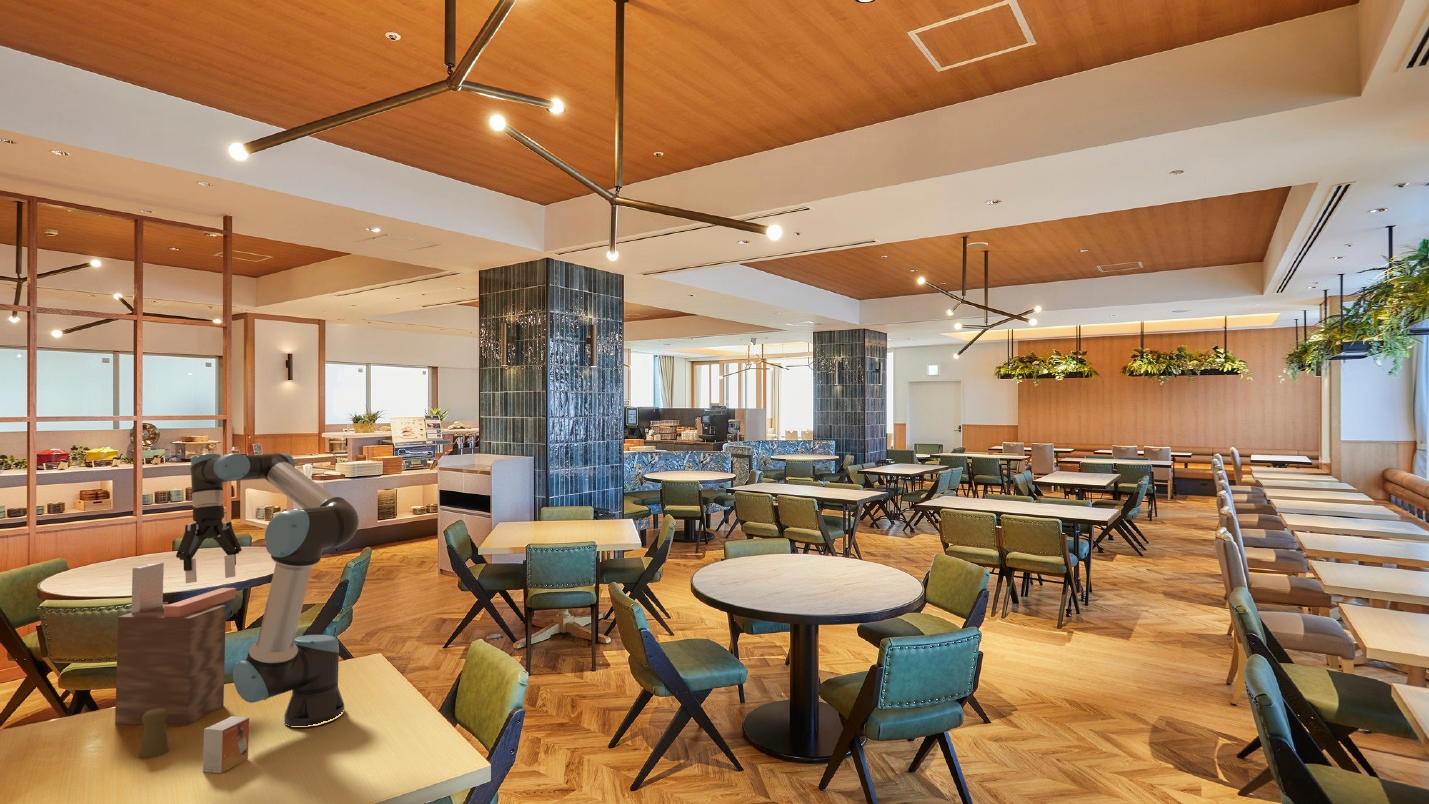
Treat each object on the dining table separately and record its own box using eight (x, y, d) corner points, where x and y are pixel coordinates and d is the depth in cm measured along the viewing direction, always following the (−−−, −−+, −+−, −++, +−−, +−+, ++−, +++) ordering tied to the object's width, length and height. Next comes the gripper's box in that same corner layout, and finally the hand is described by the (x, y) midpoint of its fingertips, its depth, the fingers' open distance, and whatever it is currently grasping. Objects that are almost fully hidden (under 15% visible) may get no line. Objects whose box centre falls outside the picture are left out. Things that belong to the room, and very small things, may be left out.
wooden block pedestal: (156, 703, 213) (159, 604, 214) (223, 705, 212) (226, 605, 213) (115, 723, 199) (118, 616, 200) (186, 725, 198) (189, 618, 199)
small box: (221, 774, 171) (222, 730, 171) (201, 772, 172) (202, 728, 172) (249, 759, 179) (250, 717, 179) (230, 757, 180) (231, 715, 180)
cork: (174, 750, 183) (175, 707, 184) (149, 760, 178) (150, 716, 178) (158, 746, 185) (159, 704, 186) (133, 756, 180) (134, 713, 180)
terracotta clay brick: (221, 597, 222) (222, 587, 222) (235, 597, 222) (235, 588, 222) (164, 616, 200) (164, 606, 200) (179, 617, 200) (179, 606, 200)
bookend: (154, 605, 212) (155, 562, 212) (162, 606, 212) (163, 562, 212) (131, 613, 204) (132, 567, 204) (139, 613, 204) (140, 568, 204)
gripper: (231, 508, 220) (234, 576, 216) (158, 509, 195) (160, 587, 192) (252, 504, 219) (256, 573, 216) (182, 505, 194) (185, 583, 191)
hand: (211, 580), depth 204 cm, fingers open, 13 cm apart
